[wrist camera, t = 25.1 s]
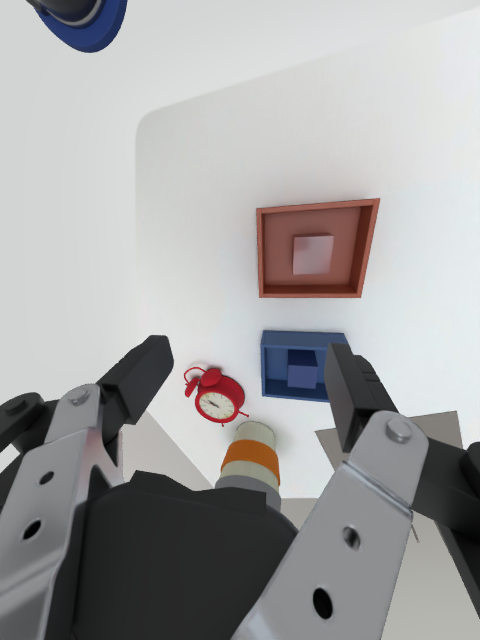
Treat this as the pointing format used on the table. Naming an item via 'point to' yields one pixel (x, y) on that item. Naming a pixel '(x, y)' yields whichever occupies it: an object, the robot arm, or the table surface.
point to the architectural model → (433, 425)
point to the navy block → (302, 369)
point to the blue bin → (277, 358)
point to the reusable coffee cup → (252, 462)
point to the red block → (312, 253)
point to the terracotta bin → (334, 217)
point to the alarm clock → (216, 396)
